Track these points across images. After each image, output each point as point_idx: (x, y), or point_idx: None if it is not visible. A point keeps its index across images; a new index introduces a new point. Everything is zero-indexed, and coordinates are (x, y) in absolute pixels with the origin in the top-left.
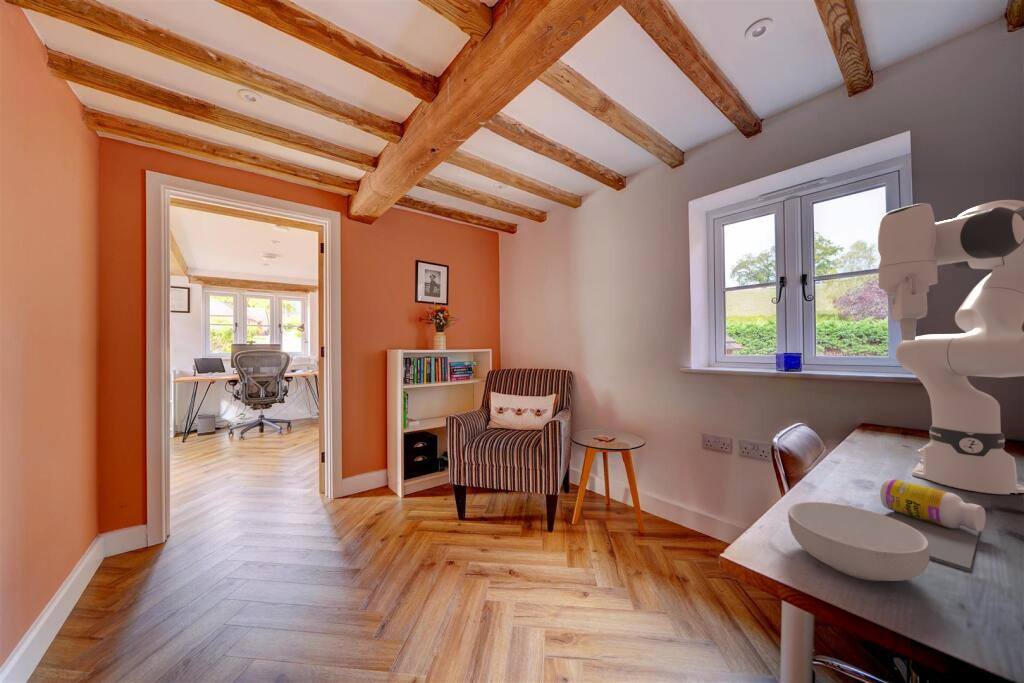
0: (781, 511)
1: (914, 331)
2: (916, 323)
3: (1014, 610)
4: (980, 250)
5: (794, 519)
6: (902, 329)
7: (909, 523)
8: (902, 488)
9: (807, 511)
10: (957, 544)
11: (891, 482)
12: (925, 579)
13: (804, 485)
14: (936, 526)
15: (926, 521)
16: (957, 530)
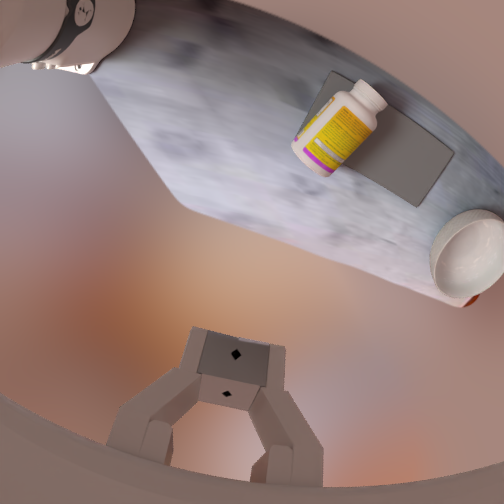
0: (362, 267)
1: (290, 397)
2: (320, 453)
3: (495, 159)
4: None
5: (470, 296)
6: (259, 432)
7: (358, 150)
8: (340, 160)
9: (437, 278)
10: (404, 129)
11: (326, 168)
12: (471, 195)
13: (242, 225)
14: None
15: None
16: None
